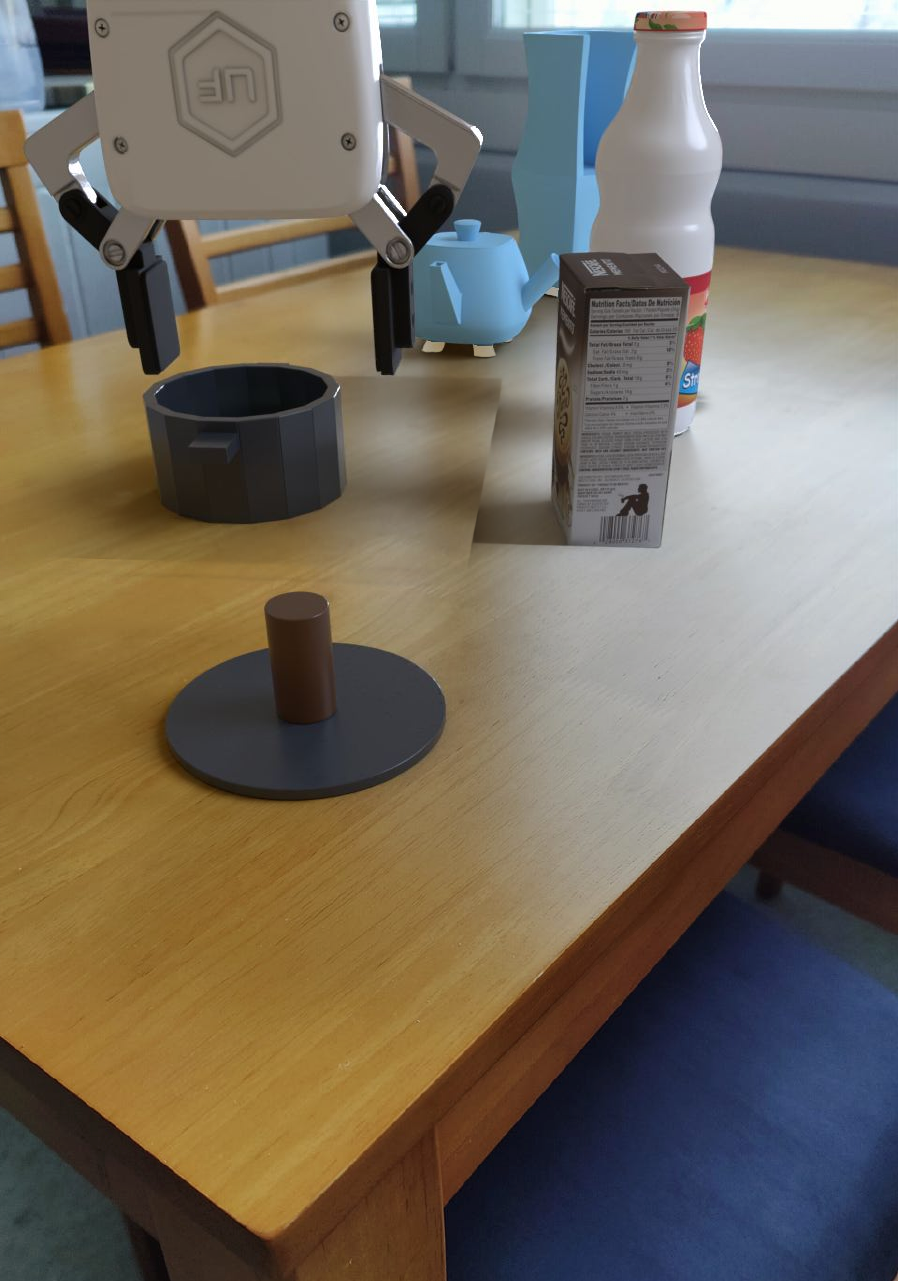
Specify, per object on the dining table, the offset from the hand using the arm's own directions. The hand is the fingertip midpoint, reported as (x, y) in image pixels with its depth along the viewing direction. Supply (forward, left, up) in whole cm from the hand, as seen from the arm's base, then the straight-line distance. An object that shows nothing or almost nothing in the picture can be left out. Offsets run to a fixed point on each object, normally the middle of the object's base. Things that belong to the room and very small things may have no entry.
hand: (275, 366), depth 47 cm
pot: (-9, +26, -17) cm, 32 cm away
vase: (+12, +97, -17) cm, 99 cm away
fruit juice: (+18, +47, -17) cm, 53 cm away
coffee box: (+15, +26, -17) cm, 35 cm away
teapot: (+2, +70, -17) cm, 72 cm away
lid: (0, -1, -17) cm, 17 cm away
